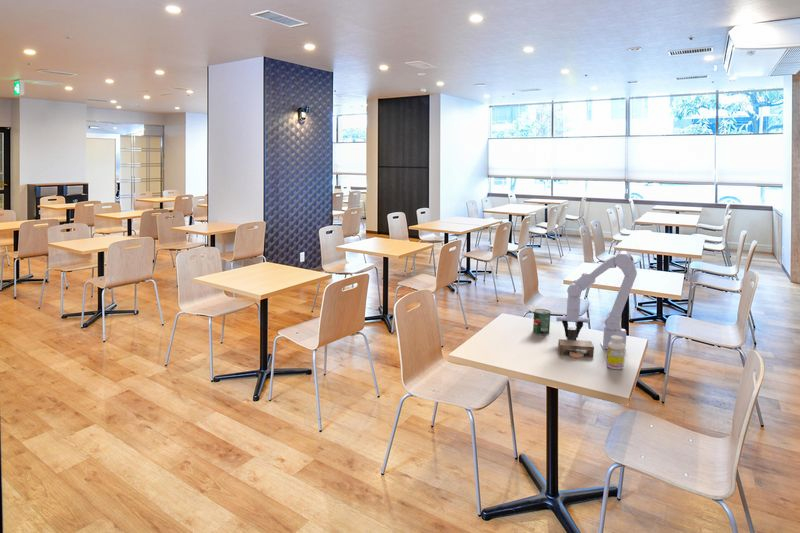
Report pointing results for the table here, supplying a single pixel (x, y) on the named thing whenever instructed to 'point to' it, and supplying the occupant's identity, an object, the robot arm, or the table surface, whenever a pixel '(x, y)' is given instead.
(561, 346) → the bench
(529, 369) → the table surface
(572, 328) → the grey square prism
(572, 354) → the coaster
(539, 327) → the canned tomato
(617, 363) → the supplement bottle
